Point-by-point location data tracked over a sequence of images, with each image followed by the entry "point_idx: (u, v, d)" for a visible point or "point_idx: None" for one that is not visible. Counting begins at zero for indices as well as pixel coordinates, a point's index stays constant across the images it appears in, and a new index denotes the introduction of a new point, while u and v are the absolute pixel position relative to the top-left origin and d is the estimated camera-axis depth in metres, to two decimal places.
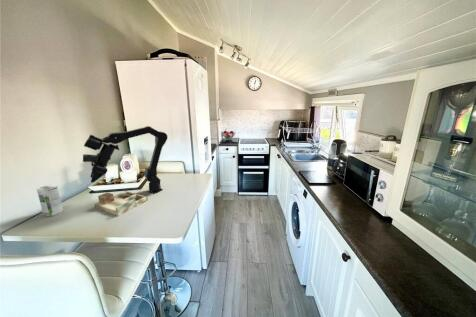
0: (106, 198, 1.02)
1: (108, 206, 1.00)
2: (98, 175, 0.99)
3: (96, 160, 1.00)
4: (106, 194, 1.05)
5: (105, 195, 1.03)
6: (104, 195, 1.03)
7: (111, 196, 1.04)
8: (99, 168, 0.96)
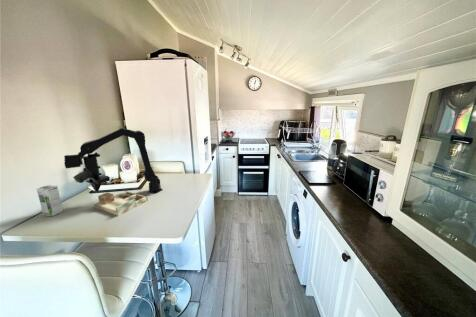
0: (106, 198, 1.02)
1: (108, 206, 1.00)
2: (98, 183, 1.06)
3: (90, 175, 1.01)
4: (106, 194, 1.05)
5: (105, 195, 1.03)
6: (104, 195, 1.03)
7: (111, 196, 1.04)
8: (102, 179, 1.00)
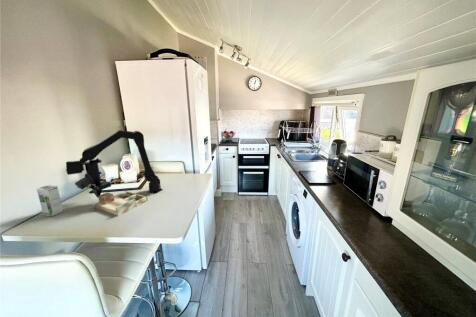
0: (106, 198, 1.02)
1: (108, 206, 1.00)
2: None
3: (92, 181, 1.02)
4: (106, 194, 1.05)
5: (105, 195, 1.03)
6: (104, 195, 1.03)
7: (111, 196, 1.04)
8: (104, 185, 1.01)
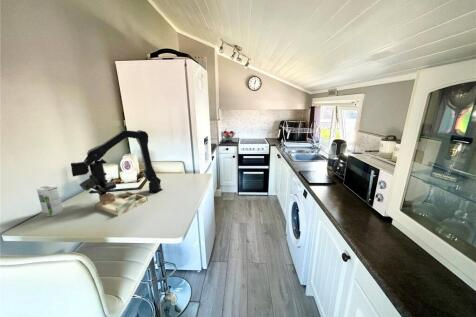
0: (107, 198, 1.02)
1: (108, 206, 1.00)
2: (104, 190, 1.05)
3: (97, 182, 1.00)
4: (107, 194, 1.04)
5: (106, 195, 1.03)
6: (105, 195, 1.03)
7: (112, 196, 1.04)
8: (109, 187, 0.99)
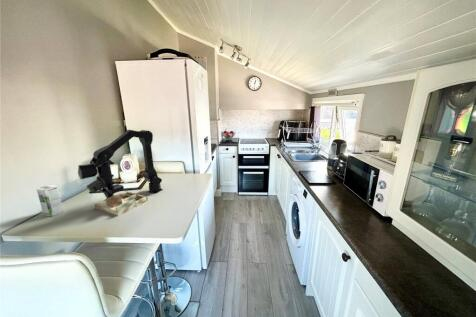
0: (114, 201, 0.99)
1: (108, 206, 1.00)
2: (112, 192, 1.03)
3: (104, 184, 0.97)
4: (114, 197, 1.01)
5: (113, 198, 1.00)
6: (112, 198, 1.00)
7: (119, 199, 1.01)
8: (116, 189, 0.97)
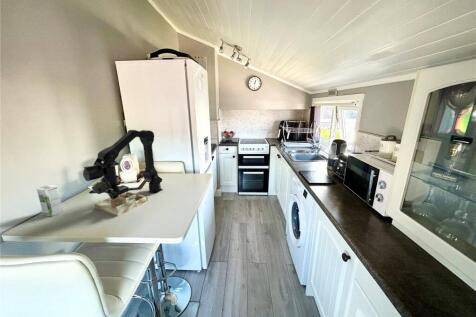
0: (119, 203, 0.97)
1: (108, 206, 1.00)
2: None
3: (109, 185, 0.96)
4: (118, 198, 1.00)
5: (117, 199, 0.98)
6: (116, 199, 0.98)
7: (124, 200, 1.00)
8: (122, 190, 0.95)
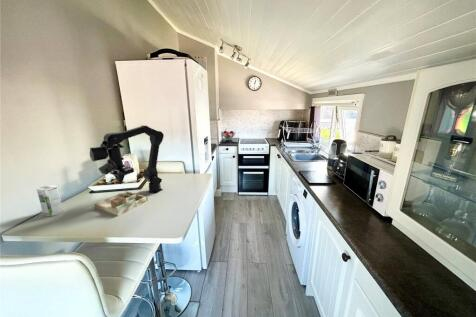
0: (119, 203, 0.97)
1: (108, 206, 1.00)
2: (122, 175, 1.06)
3: (115, 166, 1.00)
4: (118, 198, 1.00)
5: (118, 199, 0.98)
6: (116, 199, 0.98)
7: (124, 200, 0.99)
8: (127, 170, 1.00)
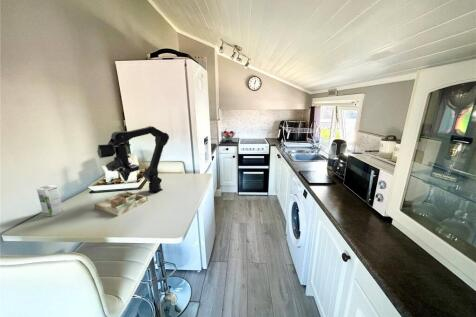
0: (119, 203, 0.97)
1: (108, 206, 1.00)
2: (128, 173, 1.08)
3: (121, 164, 1.03)
4: (118, 198, 1.00)
5: (118, 199, 0.98)
6: (116, 199, 0.98)
7: (124, 200, 0.99)
8: (133, 168, 1.02)
